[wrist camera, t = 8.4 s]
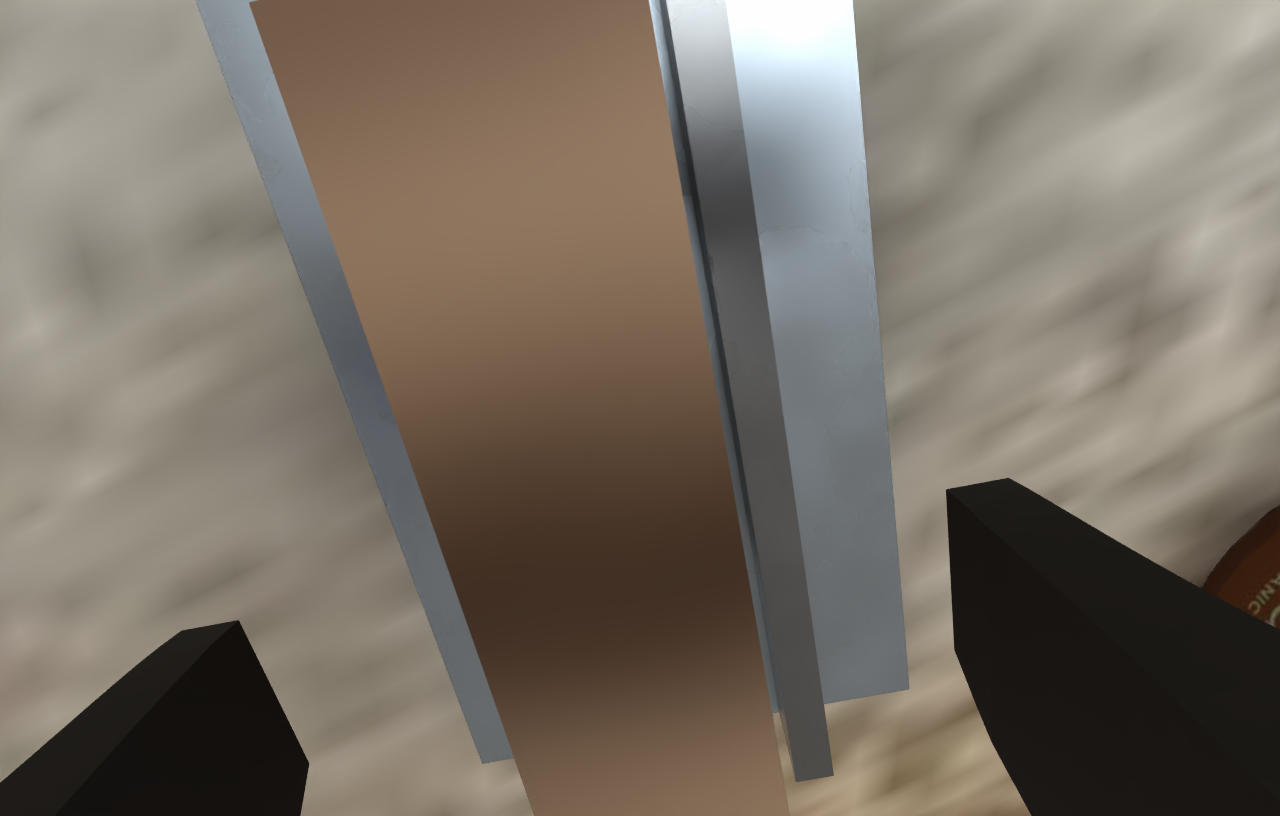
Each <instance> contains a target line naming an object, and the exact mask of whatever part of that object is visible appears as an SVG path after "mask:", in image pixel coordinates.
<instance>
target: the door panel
mask: <svg viewBox="0 0 1280 816" xmlns="http://www.w3.org/2000/svg"><path fill="white" fill-rule="evenodd" d="M249 5H250V8H251V11H252V14H253V16H254V19H255V22H256V25H257V28H258V31H259V34H260V36H261V39H262V42H263V45H264V48H265V51H266V53H267V56H268V59H269V62H270V65H271V68H272V71H273V73H274V76H275V79H276V82H277V85H278V88H279V90H280V93H281V96H282V99H283V102H284V105H285V107H286V110H287V113H288V116H289V119H290V122H291V125H292V127H293V130H294V133H295V136H296V139H297V142H298V144H299V147H300V150H301V153H302V156H303V159H304V162H305V164H306V167H307V170H308V173H309V176H310V179H311V181H312V184H313V187H314V190H315V193H316V196H317V199H318V201H319V204H320V207H321V210H322V213H323V216H324V218H325V221H326V224H327V227H328V230H329V233H330V235H331V238H332V241H333V244H334V247H335V250H336V253H337V255H338V258H339V261H340V264H341V267H342V270H343V272H344V275H345V278H346V281H347V284H348V287H349V290H350V292H351V295H352V298H353V301H354V304H355V307H356V309H357V312H358V315H359V318H360V321H361V324H362V327H363V329H364V332H365V335H366V338H367V341H368V344H369V346H370V349H371V352H372V355H373V358H374V361H375V364H376V366H377V369H378V372H379V375H380V378H381V381H382V383H383V386H384V389H385V392H386V395H387V398H388V400H389V403H390V406H391V409H392V412H393V415H394V418H395V420H396V423H397V426H398V429H399V432H400V435H401V437H402V440H403V443H404V446H405V449H406V452H407V455H408V457H409V460H410V463H411V466H412V469H413V472H414V474H415V477H416V480H417V483H418V486H419V489H420V492H421V494H422V497H423V500H424V503H425V506H426V509H427V511H428V514H429V517H430V520H431V523H432V526H433V528H434V531H435V534H436V537H437V540H438V543H439V546H440V548H441V551H442V554H443V557H444V560H445V563H446V565H447V568H448V571H449V574H450V577H451V580H452V583H453V585H454V588H455V591H456V594H457V597H458V600H459V602H460V605H461V608H462V611H463V614H464V617H465V620H466V622H467V625H468V628H469V631H470V634H471V637H472V639H473V642H474V645H475V648H476V651H477V654H478V656H479V659H480V662H481V665H482V668H483V671H484V674H485V676H486V679H487V682H488V685H489V688H490V691H491V693H492V696H493V699H494V702H495V705H496V708H497V711H498V713H499V716H500V719H501V722H502V725H503V728H504V730H505V733H506V736H507V739H508V742H509V745H510V748H511V750H512V753H513V756H514V759H515V762H516V765H517V767H518V770H519V773H520V776H521V779H522V782H523V784H524V787H525V790H526V793H527V796H528V799H529V802H530V804H531V807H532V810H533V813H534V816H790V814H789V808H788V803H787V797H786V791H785V785H784V780H783V774H782V768H781V762H780V756H779V751H778V745H777V739H776V733H775V727H774V722H773V716H772V710H771V704H770V699H769V693H768V687H767V681H766V675H765V670H764V664H763V658H762V652H761V646H760V641H759V635H758V629H757V623H756V617H755V612H754V606H753V600H752V594H751V589H750V583H749V577H748V571H747V565H746V560H745V554H744V548H743V542H742V536H741V531H740V525H739V519H738V513H737V508H736V502H735V496H734V490H733V484H732V479H731V473H730V467H729V461H728V455H727V450H726V444H725V438H724V432H723V427H722V421H721V415H720V409H719V403H718V398H717V392H716V386H715V380H714V374H713V369H712V363H711V357H710V351H709V346H708V340H707V334H706V328H705V322H704V317H703V311H702V305H701V299H700V293H699V288H698V282H697V276H696V270H695V265H694V259H693V253H692V247H691V241H690V236H689V230H688V224H687V218H686V212H685V207H684V201H683V195H682V189H681V183H680V178H679V172H678V166H677V160H676V155H675V149H674V143H673V137H672V131H671V126H670V120H669V114H668V108H667V102H666V97H665V91H664V85H663V79H662V74H661V68H660V62H659V56H658V50H657V45H656V39H655V33H654V27H653V21H652V16H651V10H650V4H649V0H257V1H253V2H249Z"/></svg>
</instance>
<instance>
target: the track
mask: <svg viewBox="0 0 1280 816" xmlns="http://www.w3.org/2000/svg"><path fill="white" fill-rule="evenodd" d="M253 1H257V0H196V3H197V6H198V8H199V11H200V14H201V16H202V19H203V22H204V24H205V27H206V30H207V32H208V35H209V38H210V40H211V43H212V46H213V48H214V51H215V54H216V56H217V59H218V61H219V64H220V67H221V69H222V72H223V75H224V77H225V80H226V83H227V85H228V88H229V91H230V93H231V96H232V99H233V101H234V104H235V107H236V109H237V112H238V115H239V117H240V120H241V123H242V125H243V128H244V131H245V133H246V136H247V139H248V141H249V144H250V147H251V149H252V152H253V155H254V157H255V160H256V163H257V165H258V168H259V171H260V173H261V176H262V179H263V181H264V184H265V187H266V189H267V192H268V195H269V197H270V200H271V203H272V205H273V208H274V211H275V213H276V216H277V219H278V221H279V224H280V227H281V229H282V232H283V235H284V237H285V240H286V243H287V245H288V248H289V250H290V253H291V256H292V258H293V261H294V264H295V266H296V269H297V272H298V274H299V277H300V280H301V282H302V285H303V288H304V290H305V293H306V296H307V298H308V301H309V304H310V306H311V309H312V312H313V314H314V317H315V320H316V322H317V325H318V328H319V330H320V333H321V336H322V338H323V341H324V344H325V346H326V349H327V352H328V354H329V357H330V360H331V362H332V365H333V368H334V370H335V373H336V376H337V378H338V381H339V384H340V386H341V389H342V392H343V394H344V397H345V400H346V402H347V405H348V408H349V410H350V413H351V416H352V418H353V421H354V424H355V426H356V429H357V432H358V434H359V437H360V439H361V442H362V445H363V447H364V450H365V453H366V455H367V458H368V461H369V463H370V466H371V469H372V471H373V474H374V477H375V479H376V482H377V485H378V487H379V490H380V493H381V495H382V498H383V501H384V503H385V506H386V509H387V511H388V514H389V517H390V519H391V522H392V525H393V527H394V530H395V533H396V535H397V538H398V541H399V543H400V546H401V549H402V551H403V554H404V557H405V559H406V562H407V565H408V567H409V570H410V573H411V575H412V578H413V581H414V583H415V586H416V589H417V591H418V594H419V597H420V599H421V602H422V605H423V607H424V610H425V613H426V615H427V618H428V621H429V623H430V626H431V628H432V631H433V634H434V636H435V639H436V642H437V644H438V647H439V650H440V652H441V655H442V658H443V660H444V663H445V666H446V668H447V671H448V674H449V676H450V679H451V682H452V684H453V687H454V690H455V692H456V695H457V698H458V700H459V703H460V706H461V708H462V711H463V714H464V716H465V719H466V722H467V724H468V727H469V730H470V732H471V735H472V738H473V740H474V743H475V746H476V748H477V751H478V754H479V756H480V759H481V762H482V764H483V763H489V762H495V761H500V760H506V759H512V758H514V756H513V753H512V750H511V748H510V745H509V742H508V739H507V736H506V733H505V730H504V728H503V725H502V722H501V719H500V716H499V713H498V711H497V708H496V705H495V702H494V699H493V696H492V693H491V691H490V688H489V685H488V682H487V679H486V676H485V674H484V671H483V668H482V665H481V662H480V659H479V656H478V654H477V651H476V648H475V645H474V642H473V639H472V637H471V634H470V631H469V628H468V625H467V622H466V620H465V617H464V614H463V611H462V608H461V605H460V602H459V600H458V597H457V594H456V591H455V588H454V585H453V583H452V580H451V577H450V574H449V571H448V568H447V565H446V563H445V560H444V557H443V554H442V551H441V548H440V546H439V543H438V540H437V537H436V534H435V531H434V528H433V526H432V523H431V520H430V517H429V514H428V511H427V509H426V506H425V503H424V500H423V497H422V494H421V492H420V489H419V486H418V483H417V480H416V477H415V474H414V472H413V469H412V466H411V463H410V460H409V457H408V455H407V452H406V449H405V446H404V443H403V440H402V437H401V435H400V432H399V429H398V426H397V423H396V420H395V418H394V415H393V412H392V409H391V406H390V403H389V400H388V398H387V395H386V392H385V389H384V386H383V383H382V381H381V378H380V375H379V372H378V369H377V366H376V364H375V361H374V358H373V355H372V352H371V349H370V346H369V344H368V341H367V338H366V335H365V332H364V329H363V327H362V324H361V321H360V318H359V315H358V312H357V309H356V307H355V304H354V301H353V298H352V295H351V292H350V290H349V287H348V284H347V281H346V278H345V275H344V272H343V270H342V267H341V264H340V261H339V258H338V255H337V253H336V250H335V247H334V244H333V241H332V238H331V235H330V233H329V230H328V227H327V224H326V221H325V218H324V216H323V213H322V210H321V207H320V204H319V201H318V199H317V196H316V193H315V190H314V187H313V184H312V181H311V179H310V176H309V173H308V170H307V167H306V164H305V162H304V159H303V156H302V153H301V150H300V147H299V144H298V142H297V139H296V136H295V133H294V130H293V127H292V125H291V122H290V119H289V116H288V113H287V110H286V107H285V105H284V102H283V99H282V96H281V93H280V90H279V88H278V85H277V82H276V79H275V76H274V73H273V71H272V68H271V65H270V62H269V59H268V56H267V53H266V51H265V48H264V45H263V42H262V39H261V36H260V34H259V31H258V28H257V25H256V22H255V19H254V16H253V14H252V11H251V8H250V5H249V2H253ZM649 4H650V10H651V16H652V21H653V27H654V33H655V39H656V45H657V50H658V56H659V62H660V68H661V74H662V79H663V85H664V91H665V97H666V102H667V108H668V114H669V120H670V126H671V131H672V137H673V143H674V149H675V155H676V160H677V166H678V172H679V178H680V183H681V189H682V195H683V201H684V207H685V212H686V218H687V224H688V230H689V236H690V241H691V247H692V253H693V259H694V265H695V270H696V276H697V282H698V288H699V293H700V299H701V305H702V311H703V317H704V322H705V328H706V334H707V340H708V346H709V351H710V357H711V363H712V369H713V374H714V380H715V386H716V392H717V398H718V403H719V409H720V415H721V421H722V427H723V432H724V438H725V444H726V450H727V455H728V461H729V467H730V473H731V479H732V484H733V490H734V496H735V502H736V508H737V513H738V519H739V525H740V531H741V536H742V542H743V548H744V554H745V560H746V565H747V571H748V577H749V583H750V589H751V594H752V600H753V606H754V612H755V617H756V623H757V629H758V635H759V641H760V646H761V652H762V658H763V664H764V670H765V675H766V681H767V687H768V693H769V699H770V704H771V710H772V713H776V712H779V713H780V717H781V721H782V726H783V730H784V734H785V738H786V742H787V747H788V751H789V755H790V759H791V764H792V768H793V772H794V776H795V780H796V782H799V781H805V780H811V779H817V778H823V777H829V776H834V774H833V767H832V760H831V753H830V746H829V739H828V731H827V724H826V717H825V710H824V704H827V703H833V702H839V701H845V700H850V699H856V698H862V697H868V696H873V695H879V694H885V693H891V692H896V691H902V690H908V689H909V678H908V666H907V654H906V642H905V630H904V617H903V605H902V593H901V581H900V569H899V557H898V545H897V533H896V521H895V509H894V497H893V485H892V473H891V461H890V449H889V436H888V424H887V412H886V400H885V388H884V376H883V364H882V352H881V340H880V328H879V316H878V304H877V292H876V280H875V268H874V256H873V243H872V231H871V219H870V207H869V195H868V183H867V171H866V159H865V147H864V135H863V123H862V111H861V99H860V87H859V75H858V62H857V50H856V38H855V26H854V14H853V2H852V0H649Z"/></svg>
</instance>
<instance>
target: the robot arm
mask: <svg viewBox="0 0 1280 816" xmlns="http://www.w3.org/2000/svg"><path fill="white" fill-rule="evenodd" d="M946 499H947V518H948V537H949V556H950V574H951V593H952V612H953V631H954V650H955V652H956V655H957V657H958V660H959V663H960V665H961V668H962V670H963V673H964V675H965V678H966V680H967V683H968V686H969V688H970V691H971V693H972V696H973V698H974V701H975V703H976V706H977V708H978V710H979V713H980V715H981V718H982V720H983V722H984V725H985V727H986V730H987V732H988V734H989V737H990V739H991V742H992V744H993V745H994V747H995V749H996V751H997V753H998V755H999V757H1000V759H1001V760H1002V762H1003V764H1004V766H1005V768H1006V770H1007V772H1008V773H1009V775H1010V777H1011V779H1012V781H1013V783H1014V784H1015V786H1016V788H1017V790H1018V792H1019V794H1020V795H1021V797H1022V799H1023V801H1024V803H1025V805H1026V806H1027V808H1028V810H1029V812H1030V814H1031V815H1032V816H1280V629H1278V628H1276V627H1274V626H1272V625H1270V624H1268V623H1266V622H1264V621H1262V620H1260V619H1258V618H1256V617H1254V616H1252V615H1250V614H1248V613H1246V612H1245V611H1243V610H1241V609H1239V608H1237V607H1235V606H1233V605H1231V604H1229V603H1227V602H1226V601H1224V600H1222V599H1220V598H1218V597H1216V596H1214V595H1212V594H1210V593H1209V592H1207V591H1205V590H1203V589H1201V588H1199V587H1198V586H1196V585H1194V584H1192V583H1190V582H1188V581H1187V580H1185V579H1183V578H1181V577H1179V576H1178V575H1176V574H1174V573H1172V572H1170V571H1169V570H1167V569H1165V568H1163V567H1161V566H1160V565H1158V564H1156V563H1154V562H1153V561H1151V560H1149V559H1147V558H1146V557H1144V556H1142V555H1140V554H1139V553H1137V552H1135V551H1133V550H1132V549H1130V548H1128V547H1126V546H1125V545H1123V544H1121V543H1120V542H1118V541H1116V540H1114V539H1113V538H1111V537H1109V536H1108V535H1106V534H1104V533H1103V532H1101V531H1099V530H1097V529H1096V528H1094V527H1092V526H1091V525H1089V524H1087V523H1086V522H1084V521H1082V520H1080V519H1079V518H1077V517H1075V516H1074V515H1072V514H1070V513H1069V512H1067V511H1065V510H1064V509H1062V508H1060V507H1059V506H1057V505H1055V504H1054V503H1052V502H1050V501H1048V500H1047V499H1045V498H1043V497H1042V496H1040V495H1038V494H1037V493H1035V492H1033V491H1031V490H1030V489H1028V488H1026V487H1024V486H1023V485H1021V484H1019V483H1017V482H1015V481H1013V480H1012V479H1010V478H1006V479H1000V480H995V481H989V482H984V483H979V484H973V485H968V486H962V487H957V488H951V489H946ZM308 768H309V762H308V760H307V758H306V756H305V754H304V752H303V750H302V748H301V746H300V744H299V742H298V740H297V738H296V736H295V733H294V731H293V729H292V727H291V725H290V723H289V721H288V719H287V717H286V715H285V713H284V711H283V709H282V707H281V705H280V703H279V701H278V699H277V697H276V695H275V693H274V691H273V689H272V687H271V685H270V683H269V681H268V679H267V677H266V675H265V673H264V670H263V668H262V666H261V664H260V662H259V660H258V658H257V656H256V654H255V652H254V650H253V648H252V646H251V644H250V642H249V640H248V638H247V636H246V634H245V632H244V630H243V628H242V626H241V624H240V622H239V620H237V621H232V622H226V623H221V624H215V625H210V626H204V627H199V628H194V629H188V630H183V631H181V632H179V633H178V634H176V635H175V636H174V637H172V638H171V639H170V640H168V641H167V642H165V643H164V644H163V645H161V646H160V647H159V648H158V649H156V650H155V651H154V652H152V653H151V654H150V655H149V656H147V657H146V658H145V659H144V660H143V661H141V662H140V663H139V664H138V665H136V666H135V667H134V668H133V669H132V670H130V671H129V672H128V673H127V674H126V675H124V676H123V677H122V678H121V679H120V680H119V681H117V682H116V683H115V684H114V685H113V686H112V687H110V688H109V689H108V690H107V691H106V692H105V693H103V694H102V695H101V696H100V697H99V698H98V699H96V700H95V701H94V702H93V703H92V704H91V705H90V706H88V707H87V708H86V709H85V710H84V711H83V712H81V713H80V714H79V715H78V716H77V717H76V718H75V719H73V720H72V721H71V722H70V723H69V724H68V725H67V726H65V727H64V728H63V729H62V730H61V731H60V732H58V733H57V734H56V735H55V736H54V737H53V738H52V739H50V740H49V741H48V742H47V743H46V744H45V745H43V746H42V747H41V748H40V749H39V750H38V751H37V752H35V753H34V754H33V755H32V756H31V757H30V758H28V759H27V760H26V761H25V762H24V763H23V764H22V765H20V766H19V767H18V768H17V769H16V770H15V771H13V772H12V773H11V774H10V775H9V776H8V777H7V778H5V779H4V780H3V781H2V782H1V783H0V816H300V815H301V809H302V803H303V797H304V791H305V785H306V780H307V774H308Z"/></svg>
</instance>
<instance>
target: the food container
mask: <svg viewBox="0 0 1280 816" xmlns="http://www.w3.org/2000/svg"><path fill="white" fill-rule="evenodd" d="M1202 589H1203V590H1205V591H1207V592H1209V593H1210V594H1212V595H1214V596H1216V597H1218V598H1220V599H1222V600H1224V601H1226V602H1227V603H1229V604H1231V605H1233V606H1235V607H1237V608H1239V609H1241V610H1243V611H1245V612H1246V613H1248V614H1250V615H1252V616H1254V617H1256V618H1258V619H1260V620H1262V621H1264V622H1266V623H1268V624H1270V625H1272V626H1274V627H1276V628H1278V629H1280V505H1279V506H1278V507H1276V508H1274V509H1273V510H1271V511H1270V512H1268V513H1267V514H1266V515H1265V516H1264V517H1263V518H1262V519H1261V520H1260V521H1259V522H1258V523H1256V524H1255V525H1254V526H1253V527H1252V528H1251V529H1250V530H1249V531H1248V532H1247V533H1246V534H1245V535H1244V536H1243V537H1242V538H1241V539H1240V540H1239V541H1237V542H1236V543H1235V544H1234V545H1233V546H1232V547H1231V548H1230V549H1229V550H1228V552H1227V553H1226V554H1225V555H1224V557H1223V558H1222V559H1221V561H1220V562H1219V563H1218V565H1217V566H1216V567H1215V568H1214V570H1213V571H1212V572H1211V574H1210V575H1209V577H1208V579H1207V580H1206V582H1205V584H1204V586H1203V587H1202Z"/></svg>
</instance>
